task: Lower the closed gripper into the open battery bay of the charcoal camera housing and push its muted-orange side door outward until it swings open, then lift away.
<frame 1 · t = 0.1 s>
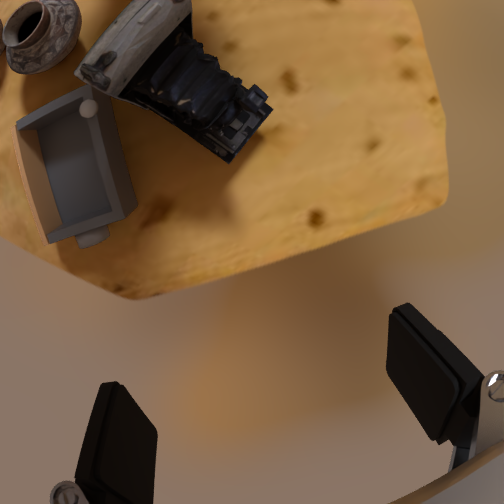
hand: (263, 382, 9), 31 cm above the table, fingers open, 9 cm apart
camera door: (33, 183, 30), point 4 cm above the table, hinge at 0.0°
pottery: (26, 44, 25), on the table
camera housing: (82, 162, 33), on the table
vintage camera: (199, 99, 33), on the table
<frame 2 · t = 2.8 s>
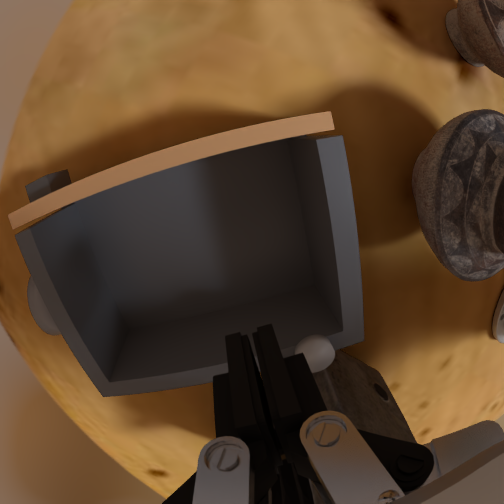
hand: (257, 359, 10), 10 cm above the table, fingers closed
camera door: (154, 151, 13), point 4 cm above the table, hinge at 0.0°
pottery: (455, 104, 18), on the table
camera housing: (197, 240, 19), on the table
vintage camera: (286, 398, 26), on the table
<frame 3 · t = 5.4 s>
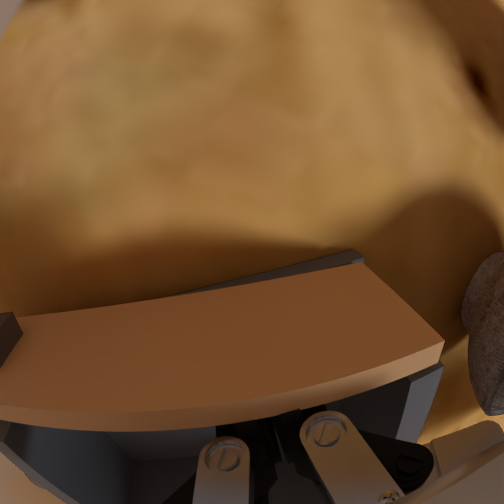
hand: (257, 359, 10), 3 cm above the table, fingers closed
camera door: (142, 341, 8), point 4 cm above the table, hinge at 4.8°, touching gripper
camera housing: (208, 392, 14), on the table
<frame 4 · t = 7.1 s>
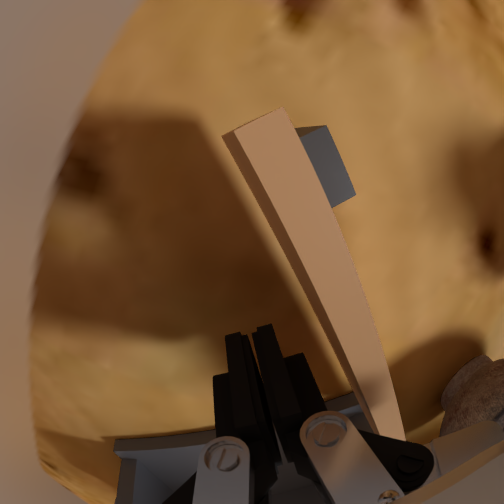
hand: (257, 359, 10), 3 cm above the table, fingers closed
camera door: (365, 348, 9), point 4 cm above the table, hinge at 74.9°, touching gripper
camera housing: (253, 466, 18), on the table
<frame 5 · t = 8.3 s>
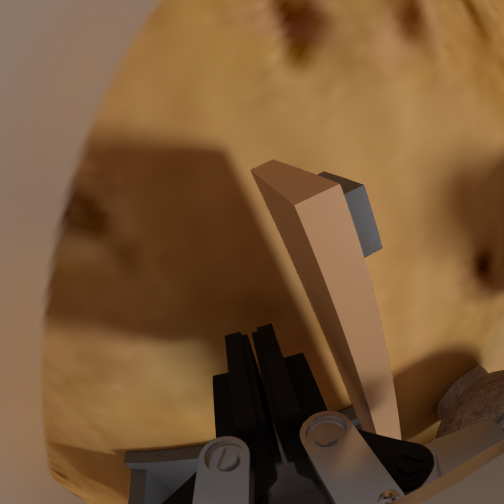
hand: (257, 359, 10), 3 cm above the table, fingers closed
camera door: (371, 372, 10), point 4 cm above the table, hinge at 78.2°, touching gripper
pottery: (501, 324, 17), on the table
camera housing: (257, 473, 18), on the table
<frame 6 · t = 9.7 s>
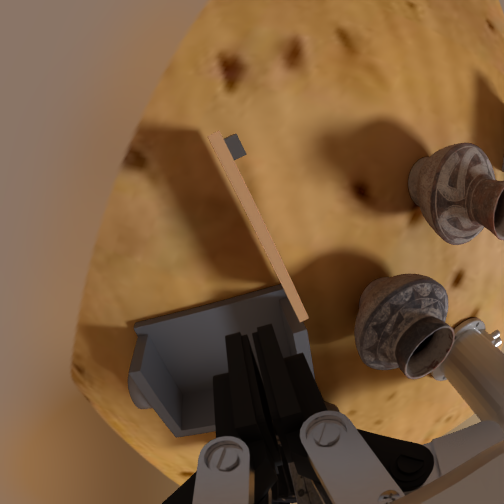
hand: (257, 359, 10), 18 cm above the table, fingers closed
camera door: (265, 224, 23), point 4 cm above the table, hinge at 78.2°
pottery: (402, 244, 31), on the table
camera housing: (224, 348, 32), on the table
vintage camera: (278, 422, 39), on the table
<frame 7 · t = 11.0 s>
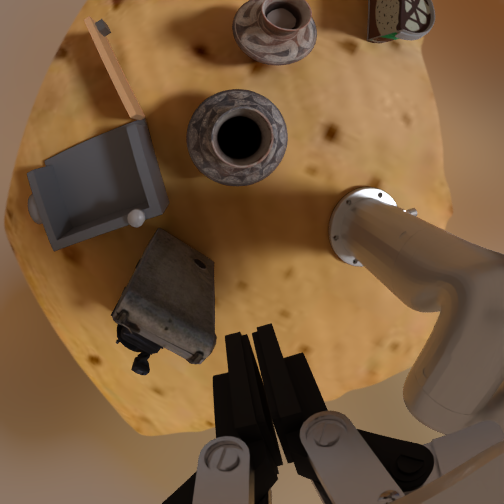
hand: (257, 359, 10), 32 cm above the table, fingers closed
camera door: (117, 64, 28), point 4 cm above the table, hinge at 78.2°
pottery: (248, 90, 35), on the table
camera housing: (103, 179, 37), on the table
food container: (383, 24, 33), on the table
vintage camera: (161, 281, 44), on the table
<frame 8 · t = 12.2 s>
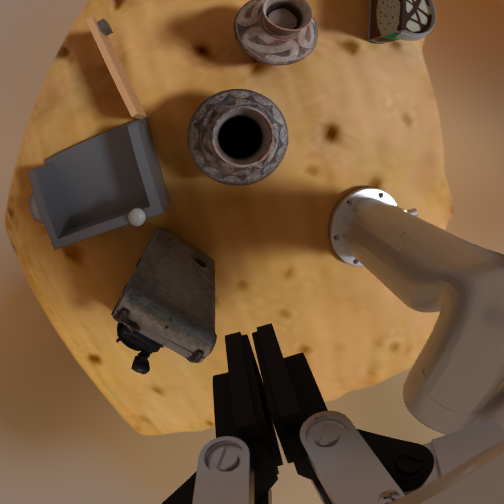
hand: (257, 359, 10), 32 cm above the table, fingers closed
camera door: (118, 64, 28), point 4 cm above the table, hinge at 78.2°
pottery: (249, 90, 36), on the table
camera housing: (105, 178, 37), on the table
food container: (385, 24, 33), on the table
vintage camera: (162, 280, 44), on the table
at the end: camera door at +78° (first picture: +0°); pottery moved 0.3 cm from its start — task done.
